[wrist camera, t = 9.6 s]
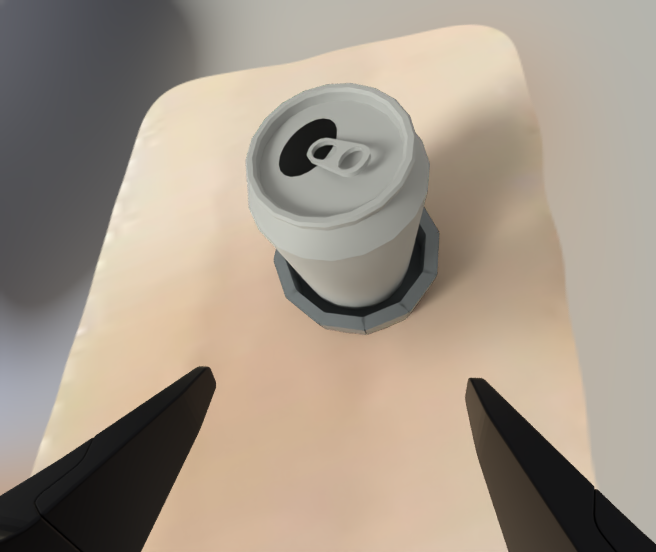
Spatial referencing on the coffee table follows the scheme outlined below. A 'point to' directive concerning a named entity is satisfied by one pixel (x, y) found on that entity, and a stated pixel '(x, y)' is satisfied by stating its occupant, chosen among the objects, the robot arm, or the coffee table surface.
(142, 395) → the coffee table surface
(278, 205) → the can
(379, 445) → the coffee table surface
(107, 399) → the coffee table surface
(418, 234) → the ring holder
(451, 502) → the coffee table surface
